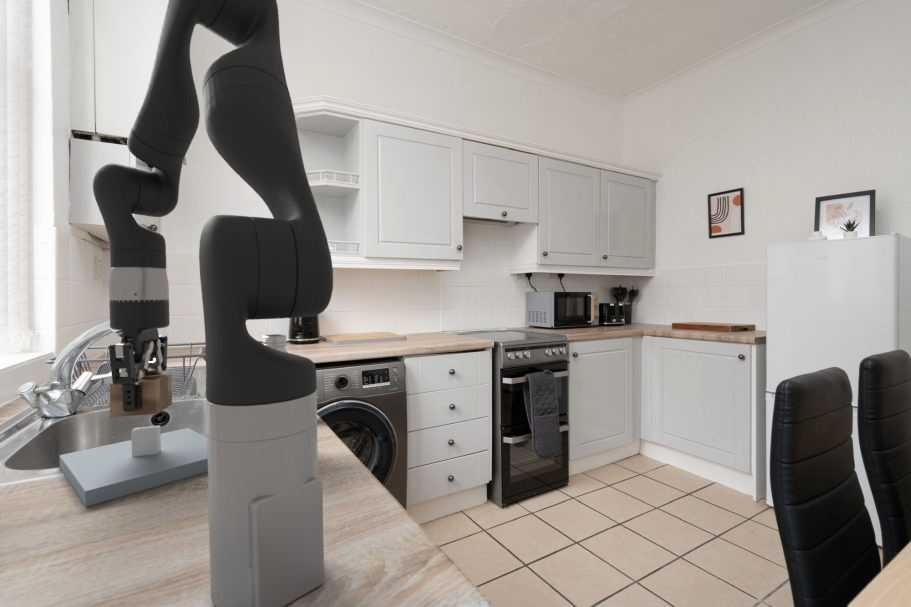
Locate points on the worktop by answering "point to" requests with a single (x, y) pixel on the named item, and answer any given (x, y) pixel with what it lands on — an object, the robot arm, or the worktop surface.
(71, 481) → the flat blue-gray panel
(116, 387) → the tan hollow open box
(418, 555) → the worktop surface
